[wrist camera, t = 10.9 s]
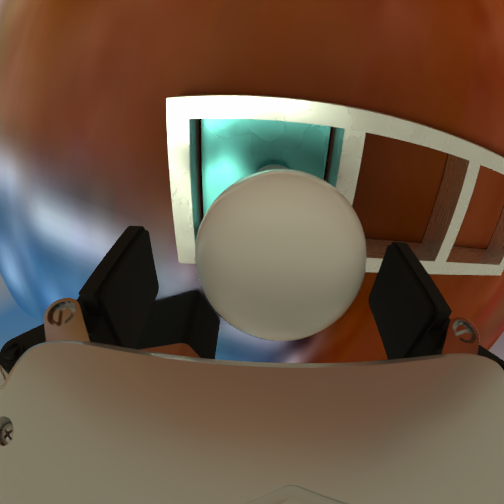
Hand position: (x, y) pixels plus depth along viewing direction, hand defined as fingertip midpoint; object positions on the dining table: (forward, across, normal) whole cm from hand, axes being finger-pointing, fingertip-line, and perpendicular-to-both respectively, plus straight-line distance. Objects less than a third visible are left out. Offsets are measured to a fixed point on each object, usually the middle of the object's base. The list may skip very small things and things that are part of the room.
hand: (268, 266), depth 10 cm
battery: (+9, +7, +12) cm, 17 cm away
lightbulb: (+8, 0, -1) cm, 8 cm away
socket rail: (+8, -9, -1) cm, 12 cm away
